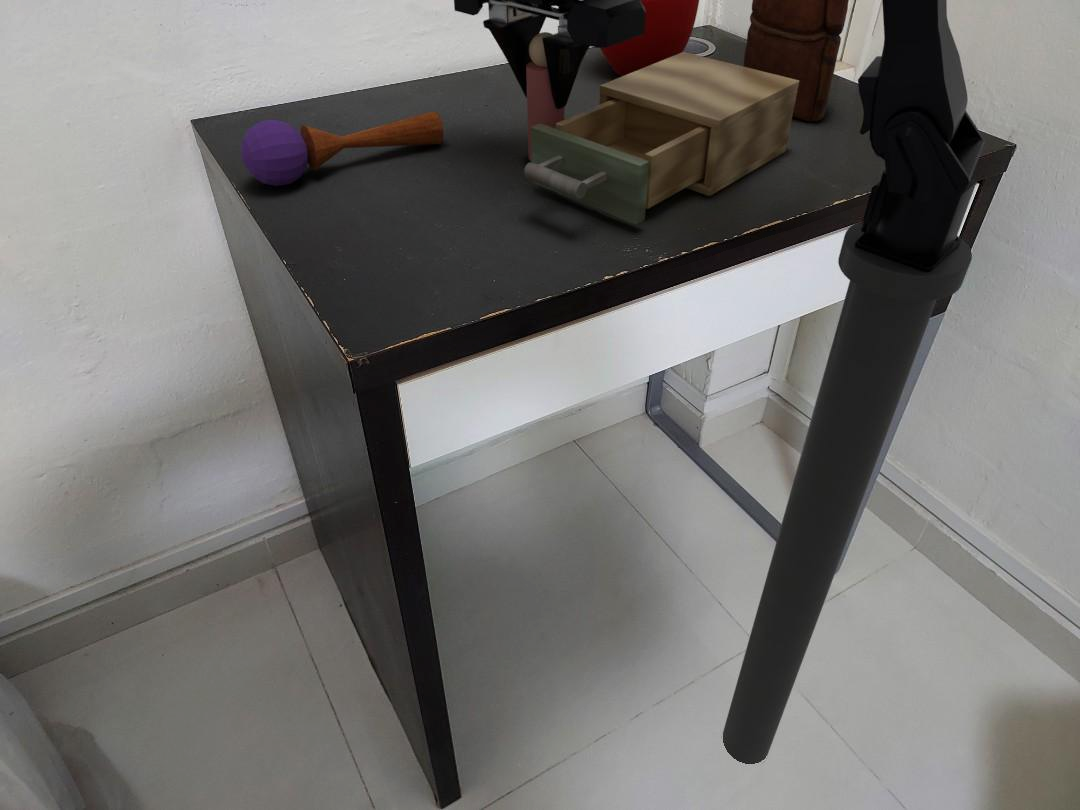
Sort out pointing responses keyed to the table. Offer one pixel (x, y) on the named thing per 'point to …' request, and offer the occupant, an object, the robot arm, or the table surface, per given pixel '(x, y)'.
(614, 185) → the drawer
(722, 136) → the cabinet
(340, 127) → the table surface
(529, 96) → the doll
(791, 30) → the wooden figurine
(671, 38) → the ceramic cup
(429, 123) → the kendama
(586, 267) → the table surface
